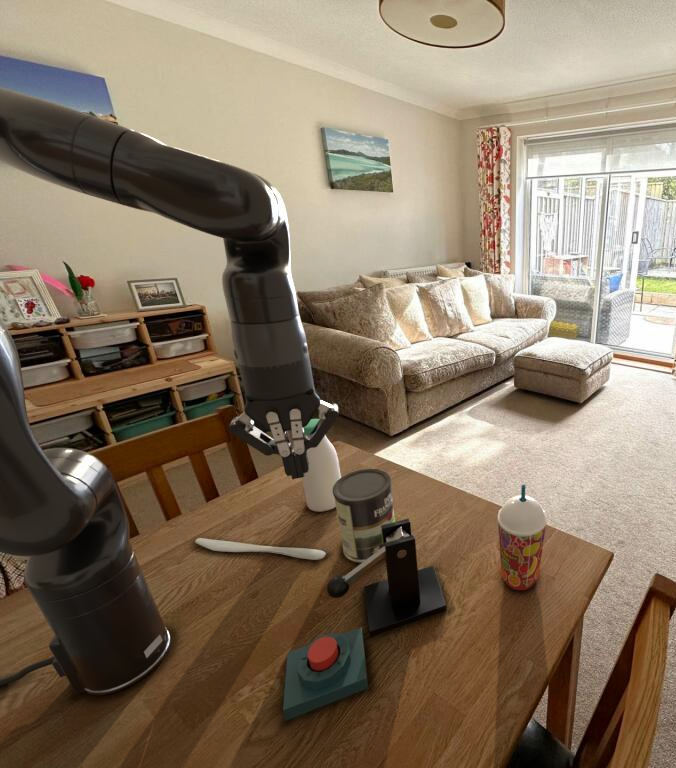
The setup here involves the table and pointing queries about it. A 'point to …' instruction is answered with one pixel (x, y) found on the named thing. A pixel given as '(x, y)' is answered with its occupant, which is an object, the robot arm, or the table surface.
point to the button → (323, 653)
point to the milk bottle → (320, 473)
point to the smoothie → (521, 540)
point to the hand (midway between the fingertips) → (298, 475)
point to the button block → (324, 675)
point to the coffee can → (363, 511)
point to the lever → (360, 568)
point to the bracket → (402, 586)
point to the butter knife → (259, 549)
